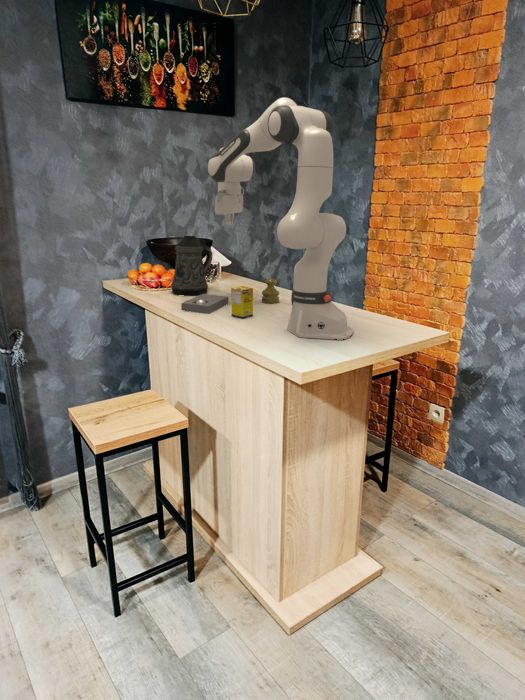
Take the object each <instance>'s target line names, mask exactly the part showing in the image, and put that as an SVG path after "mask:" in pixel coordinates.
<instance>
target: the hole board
mask: <svg viewBox="0 0 525 700" xmlns="http://www.w3.org/2000/svg"><path fill="white" fill-rule="evenodd" d="M199 299H202V300H204V301H205V302H206V303H205V304H197V303H196V302H197V300H199ZM228 303H229V296H226V295H217V294H207V293H206V294H201V295H198V296H193V297H192V298H190V299H188V300H185V301H184V302H181V305H180V306H181V311H182V310H185V311H184V312H189V311H191V312H190V313H198V312H199V313H200V314H211V312H212V313H213V312H216V311H217V310H219V309H221V308H223V307H225V306H227V305H228ZM226 304H227V305H226ZM224 305H225V306H224Z"/></svg>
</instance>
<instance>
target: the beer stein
mask: <svg viewBox="0 0 525 700" xmlns="http://www.w3.org/2000/svg"><path fill="white" fill-rule="evenodd" d="M174 249H175V251H176V257H175V265H174V273H173V278H172V281H171V284H170V286H171V287H170V288H171V292H172V294H173V293H174V294H173V295H175V294H177V295H176V296H179V295H184V296H183V297H197V296H199V295H201V294H207V292H208V288H209V284H208V283H207V280H206V275H205V274H206V273H207V271H208V269H209V268H210V266H211V264H212V262H213V251H212V248H211V247H210V246H209V245H207V243H206V240H204V239H201V238H197V237H196V235H184V237H183V239H181V240H180V241H179V242H178V243H176V245H175V248H174ZM203 252H205V255H206V257H205V261H204V260H203V256H202V253H203Z"/></svg>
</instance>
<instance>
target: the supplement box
mask: <svg viewBox="0 0 525 700" xmlns="http://www.w3.org/2000/svg"><path fill="white" fill-rule="evenodd" d="M230 291H231V293H230V294H231V295H230V296H231V297H230V298H231V301H230V303H231V307H230V309H231V317H235V318H238V319H241V320H242V319H243V320H244V319H247V318H250V317H253V316H254V288H253V287H249V286H245V285H240V286H234V287H231V288H230Z"/></svg>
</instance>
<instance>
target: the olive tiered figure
mask: <svg viewBox="0 0 525 700" xmlns="http://www.w3.org/2000/svg"><path fill="white" fill-rule="evenodd" d="M264 283H265V284H266V285H267V287H265V289H263V290H262V291H261V295H262V296H261V302H262V303H263V304H267V303H268V305H269V304H270V305H272V304H274V303H275V304H279V302H280V296H279V295H280V291H279V290H277V288H275V285H276V284H277V283H278V282H277V280H276V279H274V278H273V277H271V278H270V277H269V278H268V279H265V280H264Z"/></svg>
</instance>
